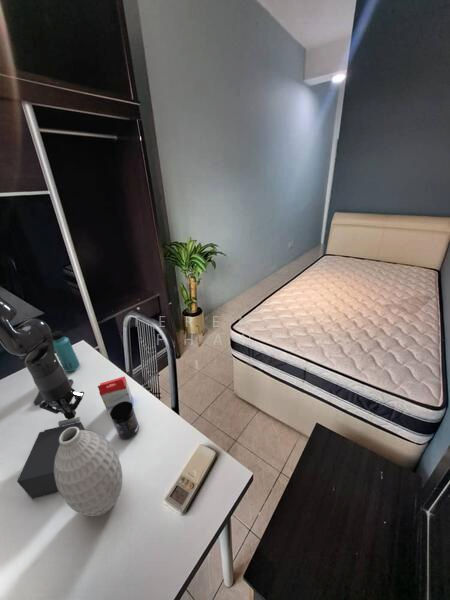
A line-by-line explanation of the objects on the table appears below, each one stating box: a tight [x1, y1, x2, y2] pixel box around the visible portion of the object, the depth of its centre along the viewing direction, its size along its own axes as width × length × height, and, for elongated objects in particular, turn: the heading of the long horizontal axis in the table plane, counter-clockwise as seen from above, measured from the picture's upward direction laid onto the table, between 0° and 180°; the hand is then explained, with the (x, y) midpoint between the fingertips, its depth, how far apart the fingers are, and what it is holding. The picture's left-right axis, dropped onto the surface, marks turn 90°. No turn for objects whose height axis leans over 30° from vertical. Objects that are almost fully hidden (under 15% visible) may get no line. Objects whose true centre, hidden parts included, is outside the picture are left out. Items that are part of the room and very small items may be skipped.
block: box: [32, 378, 74, 406], centre depth 98 cm, size 11×9×4 cm
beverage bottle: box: [52, 330, 80, 372], centre depth 105 cm, size 6×7×20 cm
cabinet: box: [16, 422, 85, 500], centre depth 71 cm, size 14×12×9 cm
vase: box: [54, 427, 124, 517], centre depth 59 cm, size 13×13×28 cm
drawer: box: [43, 416, 86, 431], centre depth 75 cm, size 17×10×7 cm, turn 13°
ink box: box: [97, 376, 134, 416], centre depth 88 cm, size 8×5×15 cm, turn 111°
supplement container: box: [109, 401, 140, 440], centre depth 80 cm, size 7×7×10 cm
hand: (71, 417), depth 82 cm, fingers closed
